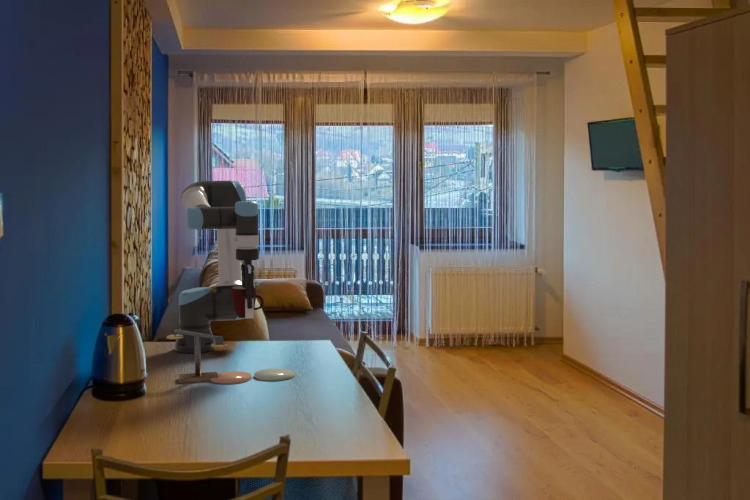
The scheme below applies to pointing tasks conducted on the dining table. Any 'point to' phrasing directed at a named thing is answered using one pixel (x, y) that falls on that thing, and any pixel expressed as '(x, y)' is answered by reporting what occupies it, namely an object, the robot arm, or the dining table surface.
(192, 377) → the balance
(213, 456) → the dining table surface
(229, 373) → the dish terracotta
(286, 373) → the dish sage
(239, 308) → the mug
